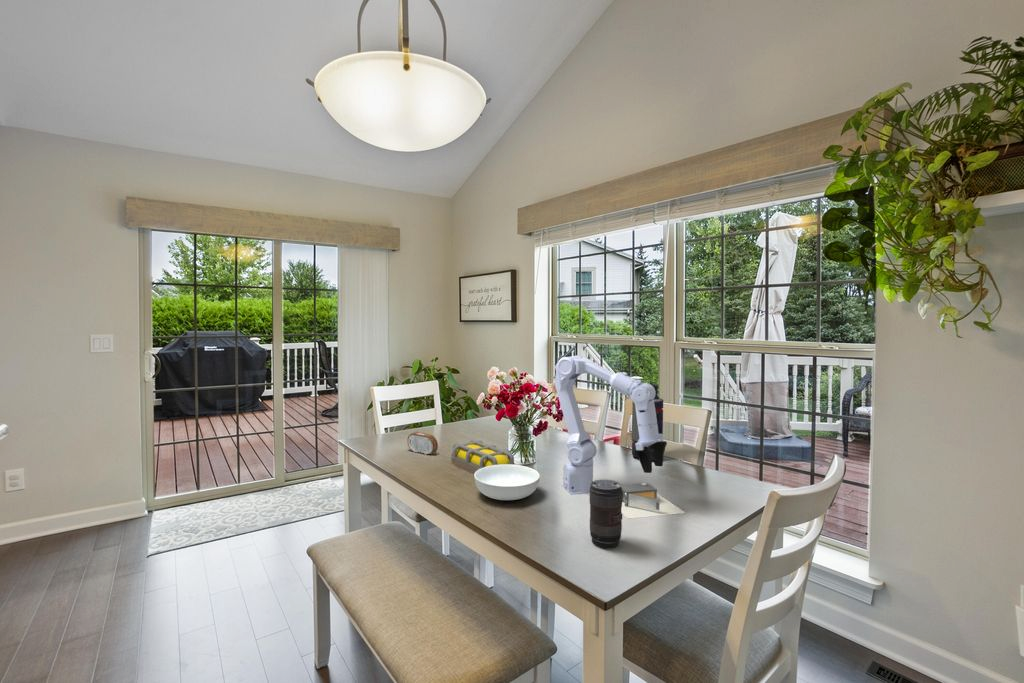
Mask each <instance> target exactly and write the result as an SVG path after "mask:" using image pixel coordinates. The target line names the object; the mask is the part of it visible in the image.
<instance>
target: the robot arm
mask: <svg viewBox="0 0 1024 683" xmlns="http://www.w3.org/2000/svg"><path fill="white" fill-rule="evenodd" d="M554 369H555V379H554V388H555V390H556V394H557V398H558V401H559V405H560V409H561V412H562V415H563V419H564V421H565V426H566V429H567V432H568V439H567V442H566V446H567V453H566V454H567V458H568V461H569V462H568V463H565V464H563V468H562V486H561V487H562V488H563V489H564V490H565V491H566V492H567V493H568V494H569V495H583V494H590V486H591V482H593V481H594V457H595V456H596V455H597V451H598V450H597V446H596V444H595V442H594V441H592V438H591V435H590V434H588V432H587V431H586V429H585V426H584V423H583V419H582V416H581V412H580V409H579V406H578V402H577V399H576V395H575V390H574V388H573V384H574V383H575V381H576V380H577V378H578V377H579V376H581V375H582V374H589V375H591V376H594V377H595V378H598V379H599V380H602V381H603V382H607V383H609V384H610V387H611V389H612V390H614V391H616V392H618V393H620V394H622V395H624V396H626V397H628V398H629V399H630V400H631V401H632V402H634V403H635V408H636V416H637V423H638V431H639V438H640V439H639V440H638V442H637V443H636V444H635V445H636V448H635V449H634V453H635V454H636V456H637V457H636V458H637V459H638V461H639V463H640V465H641V467H642V470H643V472H644V473H646V474H651V473H652V472H653V463H654V466H655V467H663V464H664V455H665V450H666V447H667V445H668V442H667V441H665V440H664V436H663V435H664V433H663V434H659V433H658V426H657V418H656V411H655V405H654V400H653V399H654V398H655V395H656V392H655V389H654V387H653V386H652V385H653V384H650V383H649V382H643V383H642V380H641V379H635V378H633V377H631V376H629V374H628V373H627V372H626V371H623V372H621V371H620V372H617V373H614V372H613V371H611V370H609V369H607V368H605V367H603V366H601V365H599V364H597V363H596V362H594V361H593V360H590V359H589V358H587V357H583V356H582V355H572V356H563V357H561V358H560V359H559V360H558V361H557V362H556V365H555V366H554ZM648 446H649V448H650V449H648V448H647V447H648ZM652 456H653V460H652Z"/></svg>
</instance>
